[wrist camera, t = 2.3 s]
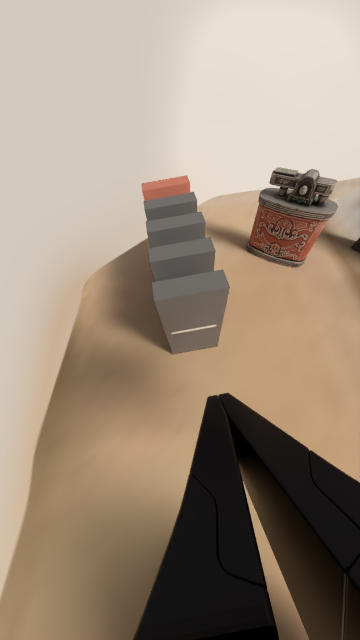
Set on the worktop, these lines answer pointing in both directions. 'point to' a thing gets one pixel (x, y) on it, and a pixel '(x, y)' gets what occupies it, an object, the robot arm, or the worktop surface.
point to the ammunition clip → (357, 245)
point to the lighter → (291, 216)
